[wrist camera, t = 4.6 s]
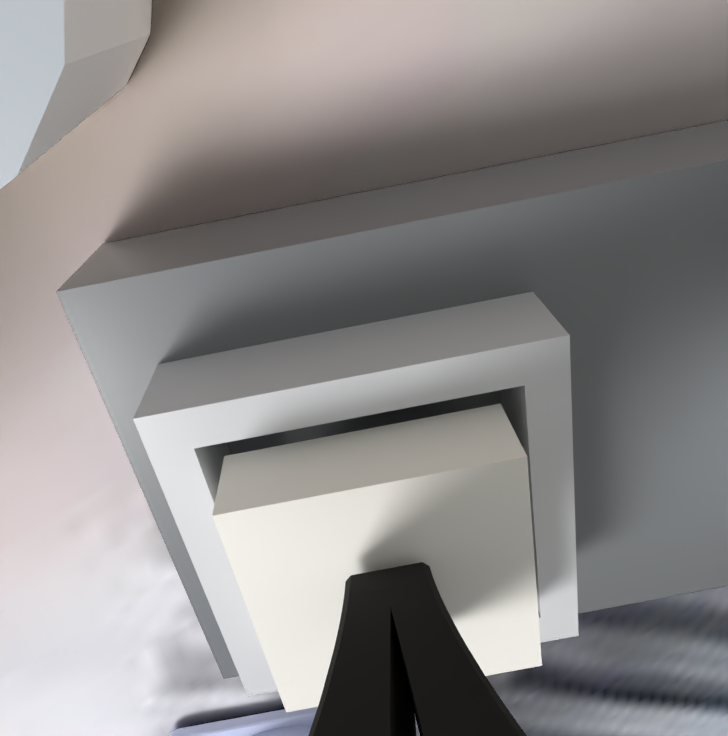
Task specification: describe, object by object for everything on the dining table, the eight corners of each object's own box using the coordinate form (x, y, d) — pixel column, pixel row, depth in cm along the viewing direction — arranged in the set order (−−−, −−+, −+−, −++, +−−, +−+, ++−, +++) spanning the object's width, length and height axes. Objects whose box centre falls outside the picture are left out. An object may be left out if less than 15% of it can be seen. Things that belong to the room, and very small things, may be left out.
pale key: (518, 600, 14) (542, 665, 12) (288, 642, 14) (286, 712, 12) (500, 403, 11) (527, 456, 10) (224, 455, 12) (212, 515, 10)
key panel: (961, 455, 19) (1156, 582, 15) (235, 590, 20) (213, 754, 15) (1092, 47, 14) (1452, 56, 10) (103, 243, 14) (11, 338, 10)
